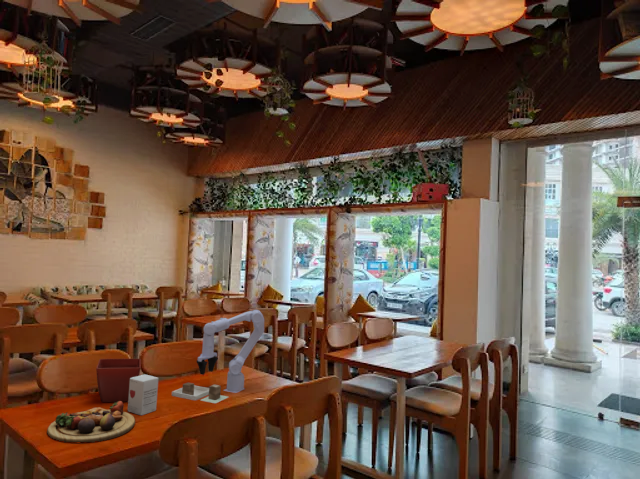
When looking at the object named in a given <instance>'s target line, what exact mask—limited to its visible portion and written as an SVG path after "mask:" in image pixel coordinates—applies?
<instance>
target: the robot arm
mask: <svg viewBox="0 0 640 479" xmlns="http://www.w3.org/2000/svg"><path fill="white" fill-rule="evenodd" d="M244 321H247V322H252V323H253V327H254V329H253V331H252V332H251V334H250V335H249V337H248V339H247V340H246V342H245V343H244V344H243V346H242V347H241V349H240V351H239V352H238V354H236V355H235V356H234V358H233V359H231V360H230V361H229V362H228V371H227V377H226V378H227V380H226V388H225V389H223V391H225V392H230V393H233V394H236V393H239V392H241V391H243V390H245V389H246V388H245V374H244V373H243V372H242V368H243V365H244V363H245V361H246V359H247V358H248V357H249V355H250V353H251V351H252V350H253V348H254V347H255V346H256V344H257V343H258V341H259V340H260V338H261V336H262V335H263V334H264V333H265V318H264V314H263V313H262V312H261V311H260V310H259V309H252V310H249V311H245V312H242V313H240V314H238V315H235V316H233V317H230V318H227V317H220V318H219V319H217V320H215V321H212V320H211V322H207V323H206V324H204V326H203V337H202V350H201V353H200V355H199V356H198V357H197V360H196V364H197V366H198V369H199V375H202V376H204V375H205V374H206V367H207V365H208V372H214V369H215V365H216V363H217V361H218V359H219V358H218V353H217V352H214V351H215V350H214V348H215V334H216V333H218V332H222V331H225V330H227V329H229V328H230V326H232V325H234V324H237V323H241V322H244ZM206 360H207V361H206Z"/></svg>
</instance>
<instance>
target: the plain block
mask: <svg viewBox="0 0 640 479" xmlns="http://www.w3.org/2000/svg"><path fill="white" fill-rule="evenodd" d="M194 385H195V383H193V382H185V383H183V384H182V387H181V388H182V393H184V394H189V395H194Z"/></svg>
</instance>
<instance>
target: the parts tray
mask: <svg viewBox="0 0 640 479" xmlns="http://www.w3.org/2000/svg"><path fill="white" fill-rule="evenodd" d="M182 388H183V387H180V388H178V389H175V390H172V391H171V396H172V397H174V398H175V397H176V398H181V399H187V400H191V401H198V400H201V399H203V398H206V397H208V396H209V387H206V386H199V385H195V384H194V395H189V394H184V393H182Z"/></svg>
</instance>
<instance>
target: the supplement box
mask: <svg viewBox="0 0 640 479" xmlns="http://www.w3.org/2000/svg"><path fill="white" fill-rule="evenodd" d="M158 389H159V377H156V376H153V375H150V374H149V375H148V374H141V375H140V374H139V376H136V377H132V378H130V384H129V398H128V401H127V403H128V404H127V413H133V414H136V415H139V416H144V415H146V414H149V413H152V412H156V410H157V403H158Z"/></svg>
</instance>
